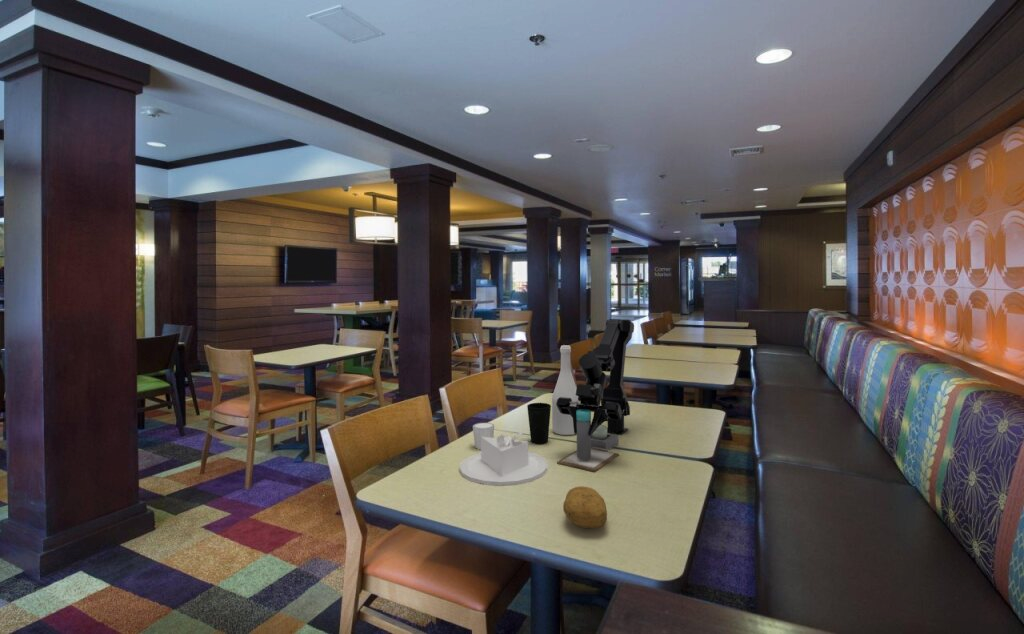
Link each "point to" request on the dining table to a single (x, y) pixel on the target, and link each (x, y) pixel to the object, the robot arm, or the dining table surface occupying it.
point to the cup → (539, 422)
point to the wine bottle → (564, 395)
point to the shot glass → (482, 432)
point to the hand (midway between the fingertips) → (582, 434)
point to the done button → (600, 433)
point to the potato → (585, 507)
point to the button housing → (605, 442)
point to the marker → (583, 433)
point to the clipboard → (592, 464)
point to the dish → (503, 462)
